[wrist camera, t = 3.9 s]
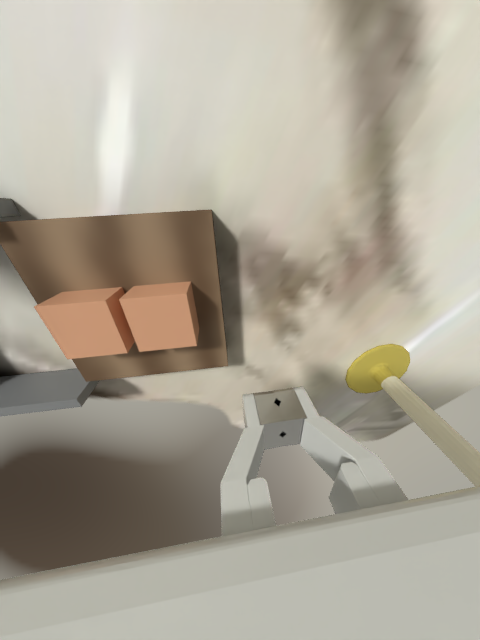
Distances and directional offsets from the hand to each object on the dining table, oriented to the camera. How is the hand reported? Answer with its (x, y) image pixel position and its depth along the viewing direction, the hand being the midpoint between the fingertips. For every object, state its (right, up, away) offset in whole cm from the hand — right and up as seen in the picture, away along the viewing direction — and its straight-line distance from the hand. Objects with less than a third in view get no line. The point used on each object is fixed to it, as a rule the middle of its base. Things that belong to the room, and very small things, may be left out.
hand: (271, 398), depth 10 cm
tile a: (-8, +5, +9) cm, 13 cm away
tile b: (-14, +4, +9) cm, 17 cm away
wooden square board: (-12, +6, +11) cm, 17 cm away
